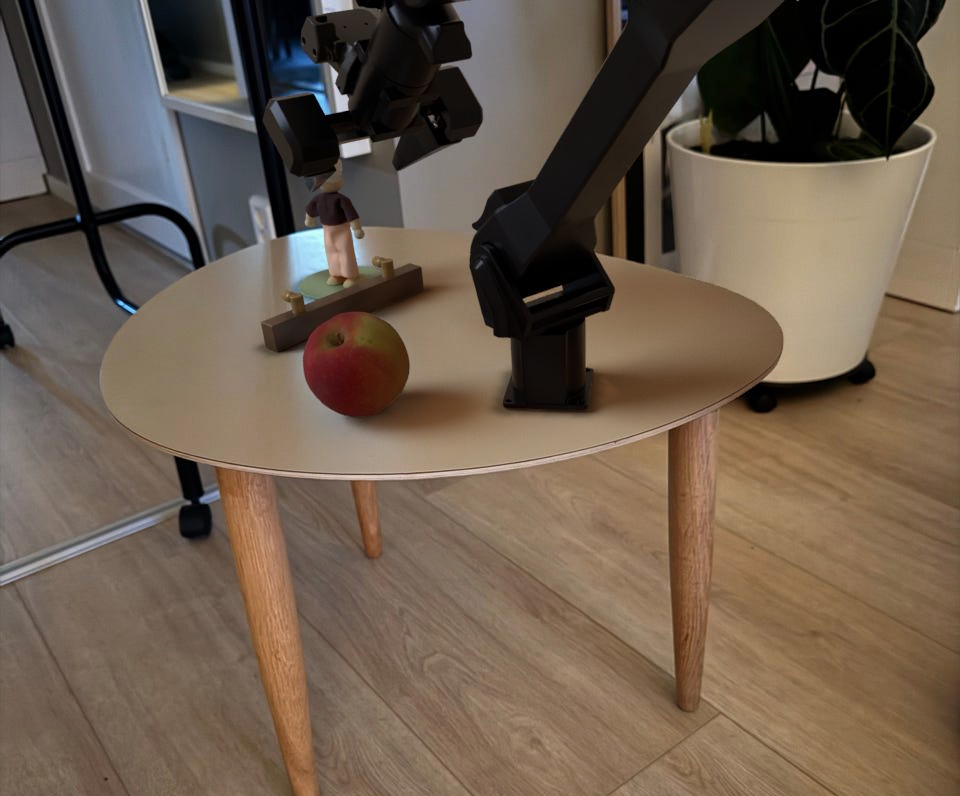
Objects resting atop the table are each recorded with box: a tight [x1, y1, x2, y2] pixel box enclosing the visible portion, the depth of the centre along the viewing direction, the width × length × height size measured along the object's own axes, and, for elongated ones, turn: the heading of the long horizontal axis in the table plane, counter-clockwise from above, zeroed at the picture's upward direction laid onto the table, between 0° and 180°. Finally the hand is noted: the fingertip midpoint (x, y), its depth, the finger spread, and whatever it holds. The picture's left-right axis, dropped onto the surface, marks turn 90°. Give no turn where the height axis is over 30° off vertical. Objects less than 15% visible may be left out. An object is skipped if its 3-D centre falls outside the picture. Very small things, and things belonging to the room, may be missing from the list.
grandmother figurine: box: [304, 158, 368, 288], centre depth 94 cm, size 8×4×13 cm, turn 65°
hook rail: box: [260, 255, 425, 353], centre depth 92 cm, size 19×13×4 cm
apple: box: [302, 312, 411, 418], centre depth 71 cm, size 8×8×8 cm
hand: (353, 177), depth 87 cm, fingers open, 9 cm apart
